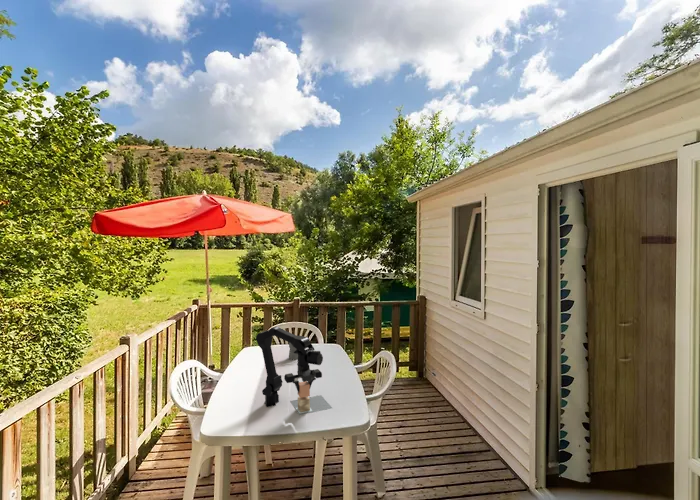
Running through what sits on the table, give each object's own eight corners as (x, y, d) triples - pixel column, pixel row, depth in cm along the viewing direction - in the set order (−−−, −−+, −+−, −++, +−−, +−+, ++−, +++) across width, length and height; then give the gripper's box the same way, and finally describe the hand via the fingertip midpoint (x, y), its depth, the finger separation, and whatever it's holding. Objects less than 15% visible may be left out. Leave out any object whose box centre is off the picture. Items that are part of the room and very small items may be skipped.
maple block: (300, 412, 189) (300, 400, 189) (297, 408, 194) (297, 396, 194) (309, 410, 191) (309, 398, 191) (306, 406, 196) (306, 395, 196)
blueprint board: (299, 416, 186) (299, 414, 186) (290, 402, 203) (289, 400, 203) (332, 409, 194) (332, 408, 194) (321, 396, 210) (321, 395, 210)
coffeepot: (283, 359, 278) (283, 335, 278) (289, 355, 287) (289, 332, 287) (301, 361, 273) (301, 336, 272) (307, 357, 282) (307, 333, 281)
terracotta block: (300, 397, 189) (300, 386, 189) (297, 394, 194) (297, 382, 193) (309, 396, 191) (309, 384, 191) (306, 392, 196) (306, 381, 195)
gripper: (289, 369, 181) (289, 401, 181) (325, 364, 188) (325, 394, 189) (283, 363, 191) (284, 393, 191) (318, 358, 198) (318, 387, 199)
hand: (303, 392), depth 192 cm, fingers closed on terracotta block, 5 cm apart
